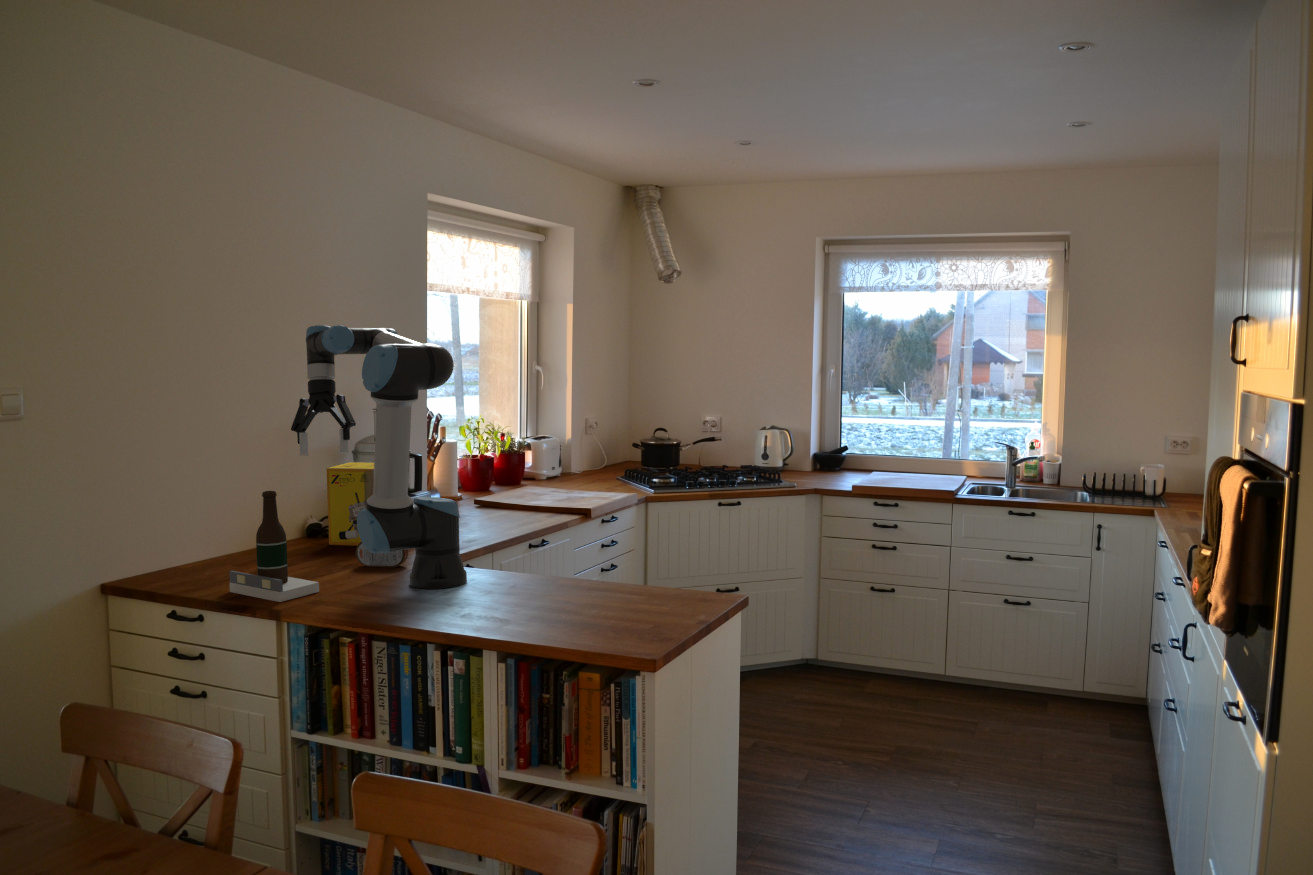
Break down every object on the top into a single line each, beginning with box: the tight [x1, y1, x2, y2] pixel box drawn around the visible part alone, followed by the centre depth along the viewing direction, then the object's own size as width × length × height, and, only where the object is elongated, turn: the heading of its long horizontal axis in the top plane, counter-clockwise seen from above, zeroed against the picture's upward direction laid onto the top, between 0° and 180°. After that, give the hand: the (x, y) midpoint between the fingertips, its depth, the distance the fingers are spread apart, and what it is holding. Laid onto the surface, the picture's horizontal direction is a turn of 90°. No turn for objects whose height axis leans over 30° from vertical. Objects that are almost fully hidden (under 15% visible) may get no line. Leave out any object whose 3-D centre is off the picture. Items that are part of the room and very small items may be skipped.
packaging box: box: [326, 461, 374, 547], centre depth 317 cm, size 16×16×25 cm
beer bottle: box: [255, 490, 289, 584], centre depth 250 cm, size 8×8×24 cm
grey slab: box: [228, 570, 320, 603], centre depth 251 cm, size 20×12×6 cm, turn 59°
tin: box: [355, 541, 409, 568], centre depth 280 cm, size 15×3×8 cm, turn 84°
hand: (324, 453), depth 276 cm, fingers open, 13 cm apart
